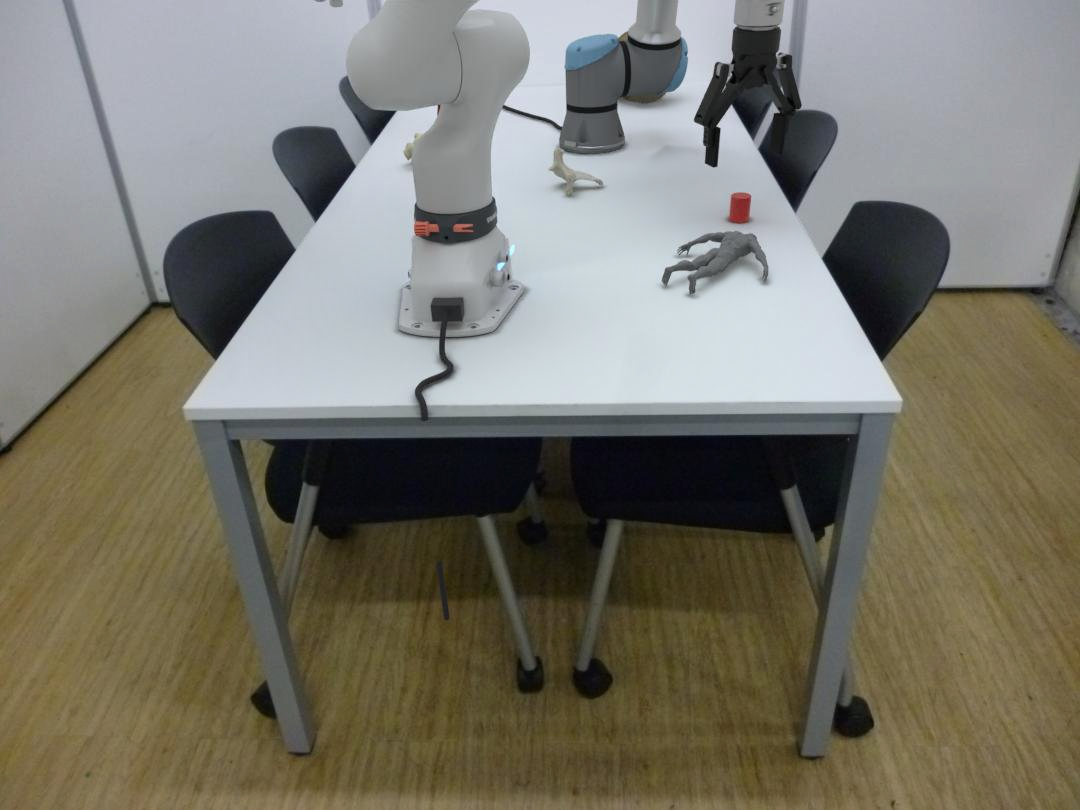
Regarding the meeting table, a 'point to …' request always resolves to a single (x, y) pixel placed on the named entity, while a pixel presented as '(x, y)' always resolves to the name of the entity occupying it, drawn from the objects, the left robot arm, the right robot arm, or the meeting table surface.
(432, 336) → the left robot arm
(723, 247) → the figurine
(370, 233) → the meeting table surface
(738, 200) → the tin
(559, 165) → the bone
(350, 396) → the meeting table surface
